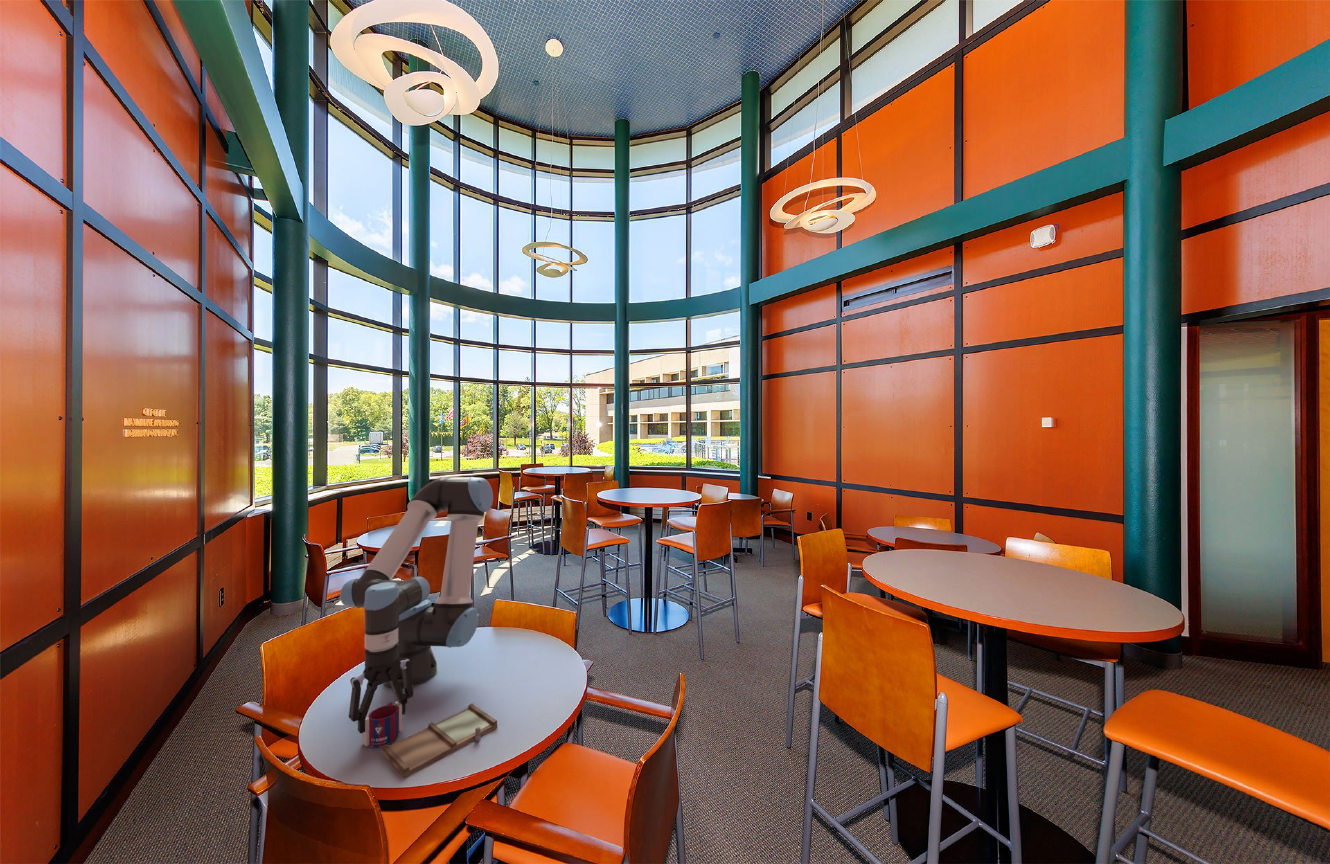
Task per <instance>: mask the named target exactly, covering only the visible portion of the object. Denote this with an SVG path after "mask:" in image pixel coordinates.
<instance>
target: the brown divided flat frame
mask: <svg viewBox="0 0 1330 864" xmlns="http://www.w3.org/2000/svg"><path fill="white" fill-rule="evenodd" d="M427 724H428V725H427V727H425V728H423V729H421V730H420V731H419V730H418V731H417V732H415V733H413V734H411V735H409V736H407V737H405V738H403V739H401V740H398V741H396V742H394V743H393V744H392V743H391V744H388V745H387V744H385V745H383V746H382V747H381V754H382V756H384V758H386V759H387V761H389V763H390V764H391V765H392V766H393V767H394V768H395V769H396V770H397V771H398V772H399V774H401V775H402V776H403V778H407V777H409V776H410V775H412V774H414V773H416V772H417V771H419V770H421V769H423V768H425V767H427V766H429V765H430V764H433V763H434V762H436V761H438V760H440V759H442V758H444V757H445V756H447V755H449V754H450V753H451V754H452V753H453V752H454V751H457V750H458V749H460V748H462V747H464V746H466V745H467V744H468V745H469V743H471V742H473V741H475V743H479V742H480V741H481V737H483V736H484V735H486V734H488V733H490V732H492V731H493V730H495V729H497V728H498V720H497V719H495V718H494V717H492V716H491V715H490V714H488V713H487V712H485V711H484V710H482V709H481V708H480V707H478V706H477V705H475V704H474V703H469V704H468V706H467V708H465V709H463V710H461V711H459V712H456V713H454V714H453V715H451V716H448V717H447V718H444V719H442V720H440V721H438V722H436V723H433V722H430V723H427Z"/></svg>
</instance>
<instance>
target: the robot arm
mask: <svg viewBox="0 0 1330 864" xmlns="http://www.w3.org/2000/svg"><path fill="white" fill-rule="evenodd" d="M493 502H494V492H493V489H492V486H491V484H490V483H489V481H488V480H487V479H485V478H483V477H476V476H475V477H474V476H467V477H466V476H463V477H462V476H461V477H460V476H459V477H452V476H451V477H450V476H449V477H448V476H447V477H445V476H444V477H440V478H437V479H435V480H432V481H430V482H429V483H427V484H426V485H424V486H423V487H422V488H421V489H419V490H418V492H416V494H414V496H412V497H411V499H410V501H409V502H408V504H407V511H406V512H405V514H404V515H403V517H402V518H401V519H400V520H399V522H398V523H397V524H396V526H395V528H394V529H393V531H392V532H391V533H390V535H389V536H388V537H387V539H386V541H385V542H384V543H383V544H382V546H381V547H380V549H379V551H378V552H377V553H376V555H375V556H374V557H373V558H372V560H371V562H370V563H369V564H368V566H367V567H366V569H365V570H364V572H363V573H362V574H361V576H360V577H359V578H353V579H351V578H350V580H348V581H346V582H345V583H344V584H343V586H342V587H341V590H340V592H339V593H340V594H339V598H340V602H341V603H342V604H343V605H344V606H345V607H348V608H349V607H350V608H357V609H361V608H362V609H364V649H365V650H364V670H363V671H362V674H360V675H359V676H357V677H351V678H350V680H349V681H350V684H351V694H350V702H349V712H348V718H349V720H351V722H352V723H355V722H357V732H359V733H360V734H361V742H362V744H363V745H364V746H365V747H368V746H369V718H368V714H369V710H370V707H371V705H372V701H373V698H374V696H375V693H376V691H377V690H378V687H379V686H381V685H382V684H383V685H384V686H385V687H387V688H390V689H392V690H393V692H394V695H395V696H396V699H397V700H398V701H394V705H397V706H398V707H399V732H400V731H402V730H403V715H406V712H407V710H406V708H407V707H406V704H407V703H408V700H409V699H412V698H413V697H414V688H413V686H417V685H420V684H423V683H425V682H427V681H428V680H430V679H432V678H433V677H435V675H436V673H437V672H438V663H437V659H436V658H435V655H434V653H433V650H432V647H443V648H444V647H445V648H450V649H451V648H460V647H464V646H466V645H467V644H469V642H470V641H471V639H472V638H473V637H474V635H475V633H476V630H477V627H478V625H479V617H480V615H479V612H478V609H476V608H475V607H473V605H474V600H473V599H472V598H471V597H470V591H471V584H472V583H471V582H472V574H473V569H474V567H473V566H474V559H475V552H476V544H477V535H478V529H479V522H480V521H482V520H483V519H484V517H485V513H487V512H489V511H490V510H491V508H492V506H493ZM442 512H447V514H446V516H447V518H448V519H449V520H450V525H449V526H450V527H449V534H448V540H447V547H446V549H447V550H446V554H445V560H444V561H445V563H444V568H443V574H442V575H443V576H442V583H441V590H440V595H439V597H438V598H436V600H435V601H434V603H433V606H432V603H431V600H430V599H427V598H429V597H430V596H429V595H430V592H431V586H430V583H429V581H428V580H427V579H426V578H425V577H422V576H414V577H409V578H408V579H403V580H400V579H399V580H397V579H395V580H394V576H395V575H396V573H397V572H398V570H399V569H400V567H401V565H402V564H403V562H404V561H405V560H406V558H407V557H408V555H409V553H410V552H411V550H412V549H413V548H414V546H415V544H416V542H417V541H418V539H419V538H420V537H421V534H422V533H423V531H424V530H425V529H426V527H427V525H428V524H429V522H430V521H433V520H435V519H436V517H437V516H438V514H440V513H442ZM364 680H367V683H366V689H365V692H364V694H363V697H362V700H361V694H362V685H363V683H364ZM402 689H404V691H403V690H402ZM360 702H361V703H360Z"/></svg>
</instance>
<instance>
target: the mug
mask: <svg viewBox="0 0 1330 864" xmlns="http://www.w3.org/2000/svg"><path fill="white" fill-rule="evenodd" d="M367 717H368V718H369V745H368V746H370V747H371V748H382V746H383V745H385V744H387V745H388V746H389V745H391V744H392V743H393V742H394V743H395V741H396V740H398V738H399V736H400V731H399V707H398V706H397V705H395V704H393V702H387V703H386V705H382V706H379V707H377V708H375V709H374V710H372V711H371V712H369V713H368V715H367Z"/></svg>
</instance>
